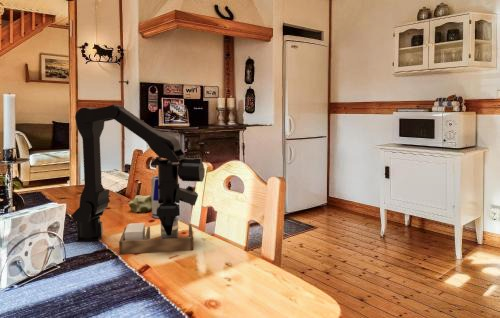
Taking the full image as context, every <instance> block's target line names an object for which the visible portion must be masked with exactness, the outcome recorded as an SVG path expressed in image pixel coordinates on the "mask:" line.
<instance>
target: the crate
mask: <svg viewBox="0 0 500 318" xmlns="http://www.w3.org/2000/svg"><path fill="white" fill-rule="evenodd" d="M126 228H127V226H126V227H124V230H123V231H122V235H121V237H120V238H119V242H118V246H119V247H118V249H119V250H118V251H119V255H128V254H130V253H132V254H146V253H147V254H149V253H164V252H165V253H167V252H179V251H182V252H183V251H184V252H185V251H194V233H193V226H192V223H189V224H188V237H187V236H185V237H178V238H165V239H161V238H152V239H151V226H147V229H146V231H145V240H127V241H125V230H126Z"/></svg>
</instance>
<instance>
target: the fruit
mask: <svg viewBox="0 0 500 318" xmlns="http://www.w3.org/2000/svg"><path fill="white" fill-rule="evenodd" d="M127 204H128V206H129V208H130V211H131V212H133V213H135V214H137V213H140V214H144V213H143V212H145V213H148V212H149V211H152V195H151V194H149V195H138V194H137V195H135V196H134V198H133V200H130V201H129V202H128V203H127Z"/></svg>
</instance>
